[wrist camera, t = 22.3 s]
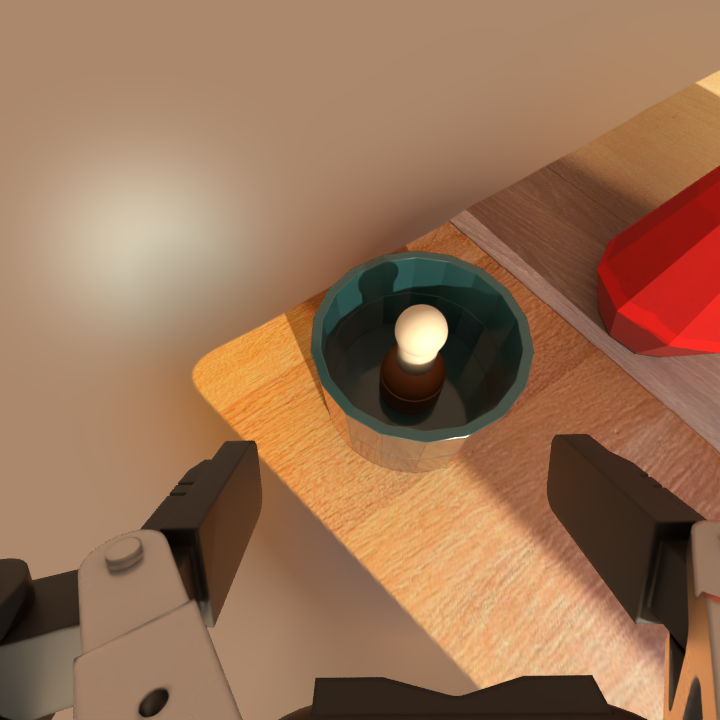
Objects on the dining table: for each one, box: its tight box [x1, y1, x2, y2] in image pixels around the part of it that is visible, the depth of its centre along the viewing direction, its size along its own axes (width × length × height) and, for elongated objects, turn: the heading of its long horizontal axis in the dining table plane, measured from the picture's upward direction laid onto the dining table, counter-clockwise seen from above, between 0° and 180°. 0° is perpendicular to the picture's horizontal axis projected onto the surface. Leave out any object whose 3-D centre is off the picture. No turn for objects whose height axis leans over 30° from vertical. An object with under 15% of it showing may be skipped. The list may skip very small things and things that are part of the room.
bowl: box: [311, 251, 534, 473], centre depth 30 cm, size 14×15×9 cm
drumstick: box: [379, 304, 448, 415], centre depth 28 cm, size 5×5×11 cm
